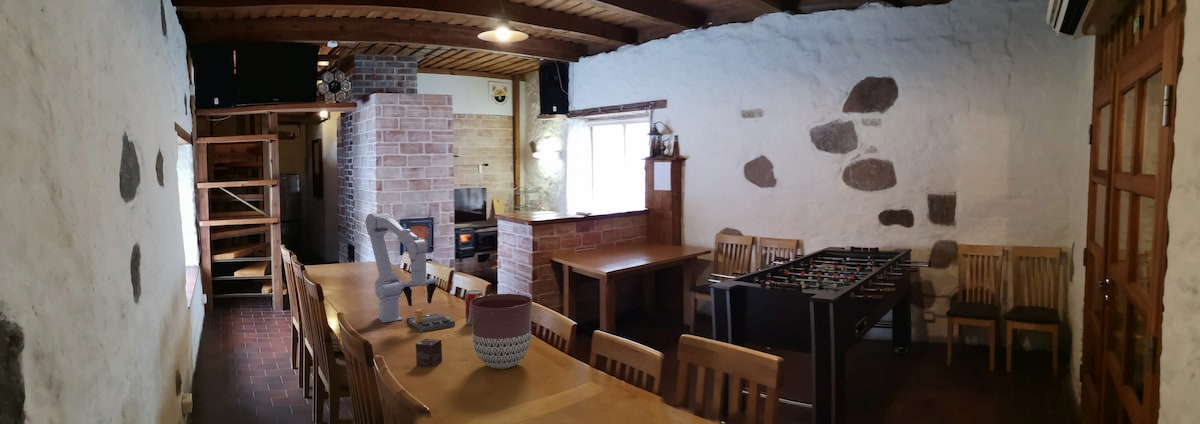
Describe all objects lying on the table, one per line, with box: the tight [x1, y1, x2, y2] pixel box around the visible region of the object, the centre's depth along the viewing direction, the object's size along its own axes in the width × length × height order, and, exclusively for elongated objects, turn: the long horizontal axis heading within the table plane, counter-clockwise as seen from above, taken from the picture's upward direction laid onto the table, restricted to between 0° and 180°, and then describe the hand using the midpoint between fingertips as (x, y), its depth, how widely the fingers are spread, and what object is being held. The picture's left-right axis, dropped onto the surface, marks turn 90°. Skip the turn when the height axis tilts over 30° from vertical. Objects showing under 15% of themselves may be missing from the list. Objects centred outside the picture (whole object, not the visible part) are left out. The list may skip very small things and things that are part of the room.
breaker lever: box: [414, 308, 424, 322], centre depth 247 cm, size 3×2×4 cm, turn 34°
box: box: [415, 338, 443, 368], centre depth 205 cm, size 6×6×7 cm
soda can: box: [464, 289, 484, 326], centre depth 252 cm, size 7×7×13 cm
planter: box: [470, 293, 533, 370], centre depth 202 cm, size 20×20×21 cm
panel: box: [407, 313, 456, 333], centre depth 251 cm, size 14×14×3 cm
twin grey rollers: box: [406, 313, 438, 323], centre depth 258 cm, size 4×13×2 cm, turn 124°
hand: (419, 304), depth 247 cm, fingers open, 7 cm apart
